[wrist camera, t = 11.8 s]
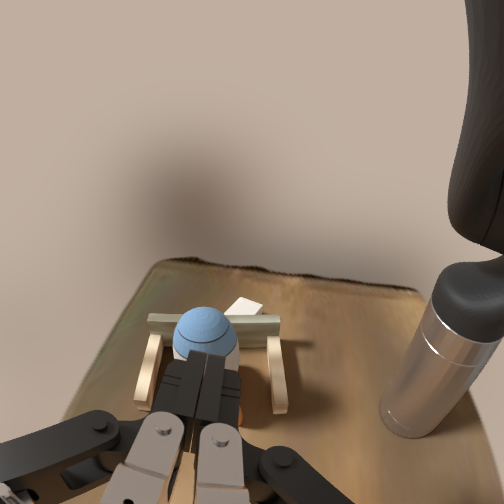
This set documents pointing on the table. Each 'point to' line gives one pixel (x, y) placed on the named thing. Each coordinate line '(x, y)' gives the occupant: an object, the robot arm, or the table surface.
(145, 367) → the cradle
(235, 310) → the fin block
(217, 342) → the toy rocket
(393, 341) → the table surface
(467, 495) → the table surface
